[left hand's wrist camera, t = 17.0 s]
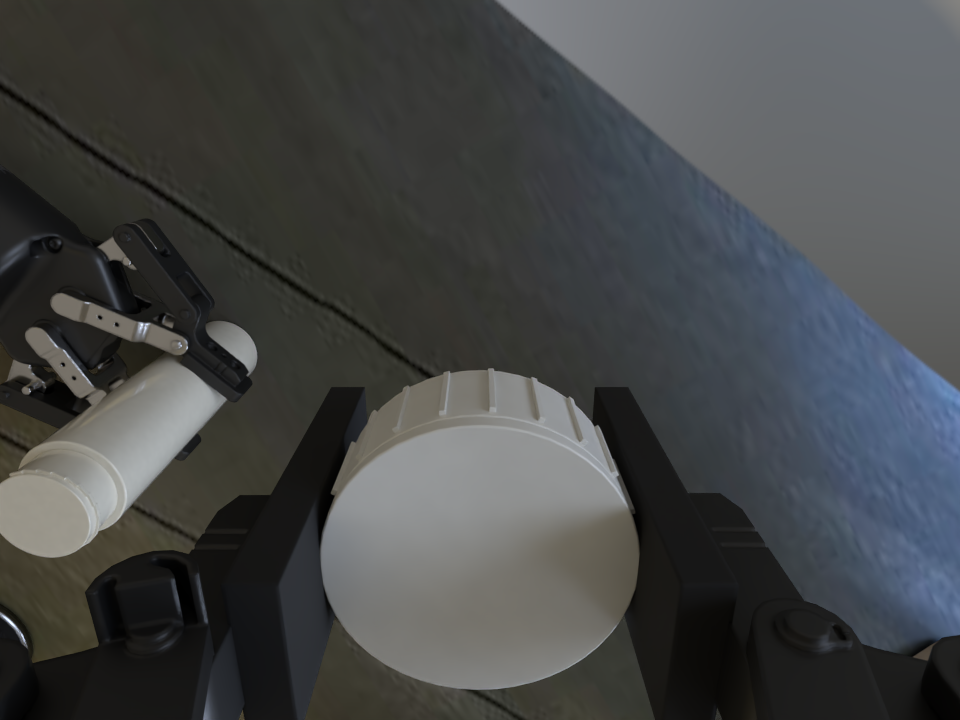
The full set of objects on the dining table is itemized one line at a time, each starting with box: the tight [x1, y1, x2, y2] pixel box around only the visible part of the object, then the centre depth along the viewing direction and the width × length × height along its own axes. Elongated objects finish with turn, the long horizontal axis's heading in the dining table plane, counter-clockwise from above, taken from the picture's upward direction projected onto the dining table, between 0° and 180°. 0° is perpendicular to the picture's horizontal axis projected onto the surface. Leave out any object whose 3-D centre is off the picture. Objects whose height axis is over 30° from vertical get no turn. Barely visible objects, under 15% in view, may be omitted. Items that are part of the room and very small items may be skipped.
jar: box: [0, 321, 257, 557], centre depth 34 cm, size 5×5×19 cm
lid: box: [320, 368, 640, 690], centre depth 11 cm, size 5×5×2 cm
